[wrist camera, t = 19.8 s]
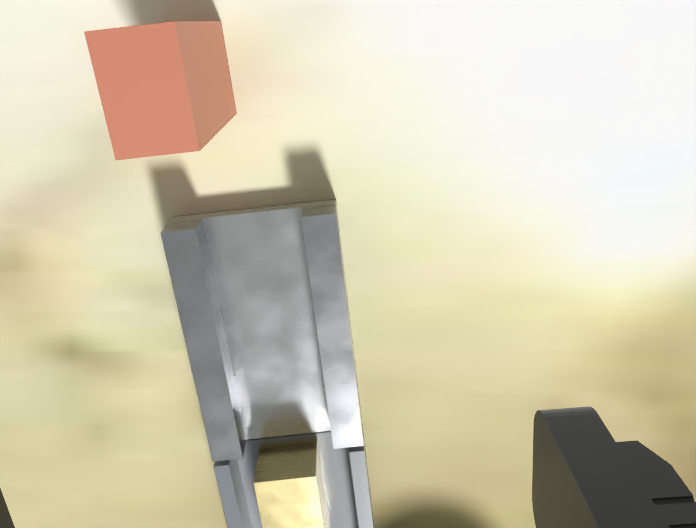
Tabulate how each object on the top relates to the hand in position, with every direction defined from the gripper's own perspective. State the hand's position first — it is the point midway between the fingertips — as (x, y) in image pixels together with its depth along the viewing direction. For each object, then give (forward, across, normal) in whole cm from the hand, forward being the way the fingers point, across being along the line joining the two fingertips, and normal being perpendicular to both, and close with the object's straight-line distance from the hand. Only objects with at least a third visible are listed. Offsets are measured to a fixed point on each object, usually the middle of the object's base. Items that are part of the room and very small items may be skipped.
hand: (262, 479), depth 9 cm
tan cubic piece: (+29, +5, +23) cm, 37 cm away
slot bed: (+29, +5, +12) cm, 32 cm away
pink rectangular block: (+29, +7, -4) cm, 30 cm away
